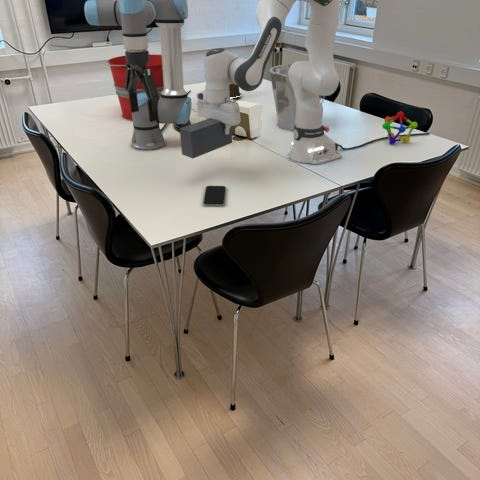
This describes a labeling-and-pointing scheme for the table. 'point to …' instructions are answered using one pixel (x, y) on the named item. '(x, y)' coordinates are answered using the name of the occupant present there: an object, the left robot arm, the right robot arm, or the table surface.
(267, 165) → the table surface
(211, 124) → the box
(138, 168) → the table surface
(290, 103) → the bucket
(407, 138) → the educational toy
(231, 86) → the bell
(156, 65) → the bucket
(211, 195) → the smartphone
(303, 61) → the right robot arm
